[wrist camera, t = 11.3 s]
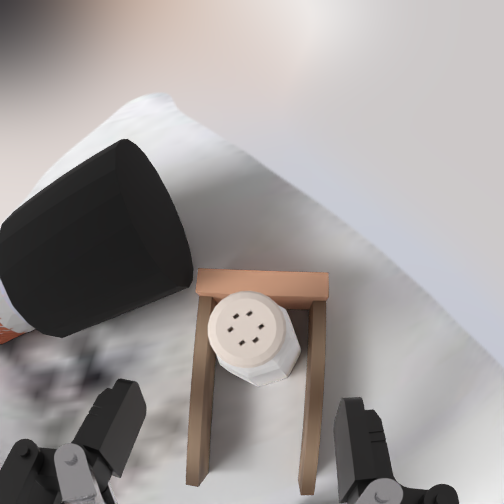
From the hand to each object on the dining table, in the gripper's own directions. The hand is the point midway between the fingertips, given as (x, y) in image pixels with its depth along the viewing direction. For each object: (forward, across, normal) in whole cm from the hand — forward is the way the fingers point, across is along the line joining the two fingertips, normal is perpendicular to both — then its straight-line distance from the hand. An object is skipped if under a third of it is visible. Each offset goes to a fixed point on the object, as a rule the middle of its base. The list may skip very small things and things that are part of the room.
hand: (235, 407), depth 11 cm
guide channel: (+7, 0, +6) cm, 9 cm away
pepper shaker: (+9, 0, +5) cm, 10 cm away
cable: (+10, +21, +4) cm, 24 cm away
